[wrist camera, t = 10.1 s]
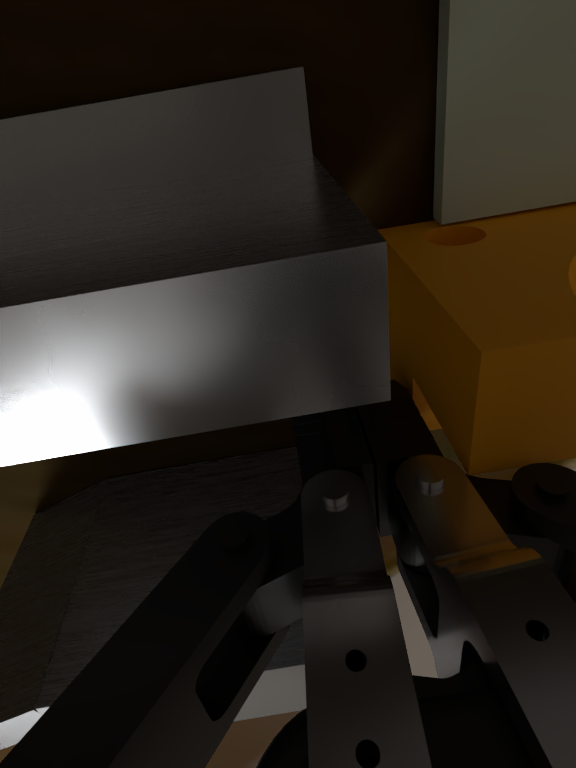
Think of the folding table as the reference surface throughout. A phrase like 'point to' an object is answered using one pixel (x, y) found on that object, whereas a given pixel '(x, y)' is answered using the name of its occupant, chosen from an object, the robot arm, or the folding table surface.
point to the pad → (504, 107)
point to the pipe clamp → (489, 332)
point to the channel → (167, 346)
